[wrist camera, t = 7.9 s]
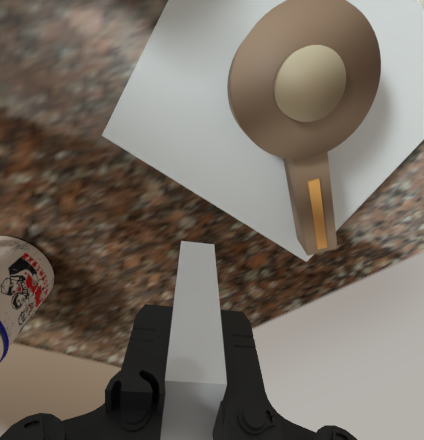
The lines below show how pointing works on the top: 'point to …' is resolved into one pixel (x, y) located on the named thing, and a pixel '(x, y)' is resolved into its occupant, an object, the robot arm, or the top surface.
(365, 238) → the top surface
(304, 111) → the brown lidded pan
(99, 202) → the top surface
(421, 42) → the white flat board
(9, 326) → the teacup with lid
